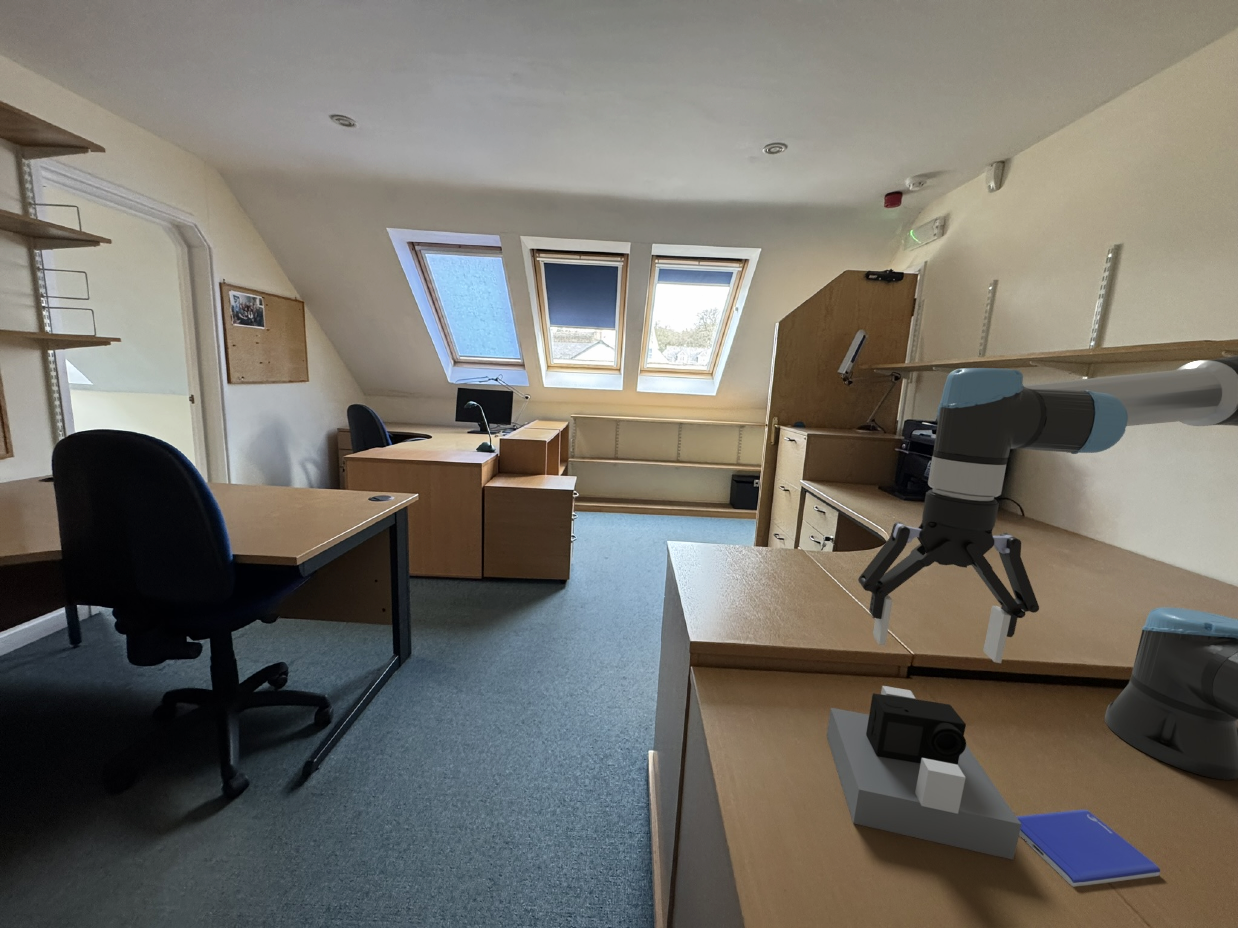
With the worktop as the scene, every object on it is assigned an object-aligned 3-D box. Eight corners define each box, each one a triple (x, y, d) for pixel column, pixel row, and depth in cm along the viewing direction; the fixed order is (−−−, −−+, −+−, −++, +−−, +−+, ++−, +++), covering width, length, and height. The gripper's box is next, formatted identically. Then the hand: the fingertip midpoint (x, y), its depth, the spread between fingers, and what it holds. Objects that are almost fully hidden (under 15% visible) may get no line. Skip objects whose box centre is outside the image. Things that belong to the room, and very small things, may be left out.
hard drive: (1085, 807, 64) (1006, 815, 62) (1161, 868, 56) (1074, 879, 54) (1082, 817, 64) (1004, 825, 62) (1158, 879, 57) (1071, 890, 55)
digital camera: (879, 763, 64) (887, 717, 63) (865, 734, 70) (872, 691, 69) (962, 777, 63) (972, 730, 62) (941, 746, 68) (950, 703, 67)
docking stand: (949, 757, 73) (961, 699, 72) (1015, 863, 57) (1032, 790, 55) (825, 733, 77) (834, 677, 75) (854, 826, 60) (866, 757, 59)
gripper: (1056, 496, 61) (1024, 648, 64) (848, 478, 66) (828, 620, 69) (1101, 511, 54) (1062, 681, 57) (863, 489, 59) (841, 647, 62)
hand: (934, 648), depth 63 cm, fingers open, 13 cm apart
